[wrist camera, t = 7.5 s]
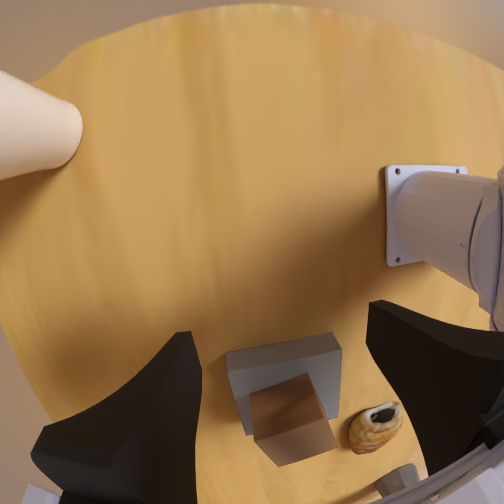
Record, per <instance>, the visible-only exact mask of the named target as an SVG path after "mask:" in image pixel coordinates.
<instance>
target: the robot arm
mask: <svg viewBox="0 0 504 504" xmlns="http://www.w3.org/2000/svg"><path fill="white" fill-rule="evenodd" d="M396 169H397V170H398V173H397V174H396V173H395V170H396ZM456 171H457V173H456ZM497 175H498V179H494V178H488V177H481V176H474V175H467V169H466V167H464V166H446V165H388V166H387V167H386V168H385V181H386V205H387V250H386V263H387V265H389V266H391V267H394V266H399V265H404V264H409V263H414V262H419V261H425V262H426V263H428V264H430V265H432V266H433V267H435V268H437V269H438V270H440V271H442V272H444V273H445V274H447V275H449V276H450V277H452V278H454V279H455V280H457V281H459V282H460V283H462V284H463V285H465V286H467V287H468V288H470V289H471V290H473V291H475V292H476V293H478V296H479V307H481V308H482V309H484V310H485V311H486V312H488V313H489V314H491V315H490V320H489V329H490V331H485V330H477V329H471V328H465V327H461V326H457V325H452V324H449V323H445V322H442V321H439V320H436V319H433V318H430V317H427V316H425V315H422V314H419V313H417V312H414V311H412V310H409V309H407V308H404V307H402V306H399V305H397V304H394V303H391V302H388V301H385V300H378V301H374V302H369V312H368V323H367V334H366V345H367V347H368V349H369V351H370V353H371V355H372V357H373V359H374V361H375V363H376V364H377V366H378V367H379V369H380V370H381V372H382V373H383V375H384V376H385V378H386V379H387V381H388V382H389V384H390V385H391V387H392V388H393V390H394V391H395V393H396V394H397V396H398V397H399V399H400V401H401V402H402V404H403V406H404V408H405V410H406V412H407V414H408V417H409V419H410V421H411V423H412V426H413V428H414V431H415V433H416V436H417V438H418V441H419V444H420V447H421V450H422V453H423V456H424V460H425V464H426V467H427V471H428V476H429V477H428V478H426V479H424V480H422V481H420V482H418V483H416V484H414V485H412V486H409V487H407V488H405V489H403V490H401V491H398V492H396V493H394V494H391V495H389V496H386V497H384V498H381V499H379V500H376V501H373V502H370V503H368V504H421V503H423V502H425V501H427V500H429V499H430V498H432V497H434V496H436V495H438V494H439V493H440V495H439V496H438V498H436V499H435V500H433V501H431V502H429V503H427V504H504V166H503V167H502V169H500V170H499V171H498V173H497ZM397 257H398V260H397V261H396V258H397ZM201 396H202V368H201V365H200V361H199V358H198V355H197V351H196V347H195V344H194V340H193V337H192V333H191V331H187V332H176V333H175V334H174V335H173V336H172V337H171V339H170V340H169V341H168V342H167V343H166V344H165V345H164V346H163V348H162V349H161V350H160V351H159V352H158V353H157V354H156V355H155V356H154V358H153V359H152V360H151V361H150V362H149V363H148V364H147V365H146V366H145V367H144V368H143V369H142V370H141V371H140V372H139V373H138V374H137V375H135V376H134V377H133V378H132V379H131V380H130V381H129V382H127V383H126V384H125V385H124V386H122V387H121V388H120V389H119V390H117V391H116V392H114V393H113V394H112V395H110V396H108V397H107V398H105V399H104V400H102V401H101V402H99V403H97V404H96V405H94V406H92V407H90V408H89V409H87V410H85V411H83V412H81V413H78V414H76V415H74V416H72V417H70V418H67V419H64V420H62V421H59V422H56V423H53V424H50V425H47V426H44V428H43V430H42V432H41V433H40V436H39V437H38V439H37V441H36V443H35V445H34V447H33V449H32V451H31V458H32V461H33V462H34V463H35V465H36V466H37V467H38V468H39V469H40V470H41V471H42V472H43V473H44V474H45V475H46V476H47V477H48V478H49V479H51V480H52V481H53V482H54V483H55V484H56V485H57V486H59V487H60V488H61V489H62V490H63V493H62V496H59V495H57V494H56V493H54V492H52V491H49V490H47V489H44V488H42V487H40V486H37V485H35V484H33V483H29V484H28V487H27V489H26V492H25V494H24V497H23V500H22V502H21V504H197V491H196V472H195V442H196V432H197V424H198V417H199V410H200V403H201ZM441 492H442V493H441Z"/></svg>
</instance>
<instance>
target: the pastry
mask: <svg viewBox="0 0 504 504" xmlns="http://www.w3.org/2000/svg"><path fill="white" fill-rule="evenodd" d="M402 409H403V405H402V404H401V403H398V402H395V401H394V402H387V403H384V404H382V405H379V406H377V407H375V408H371V409H368V410H365V411H364V412H362V413H361V414H359V415H358V416H357V417H355V419H354V420H353V421H352V422H351V426H350V428H349V441H350V446H351V448H352V451H353V452H354V453H356V454H358V455H360V454H366V453H372V452H375V451H376V450H378V449H379V448H380V447H382V446H383V445H385V444H386V443H387V442H388V441H390V440H391V439H392V438H393V437H395V436H396V435H397V430H398V429H399V428H401V426H402V423H403V418H402Z"/></svg>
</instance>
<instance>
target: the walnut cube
mask: <svg viewBox="0 0 504 504" xmlns="http://www.w3.org/2000/svg"><path fill="white" fill-rule="evenodd" d="M249 396H250V406H251V416H252V426H253V435H254V442H255V443H256V444H257V445H258V446H259V447H260V448H261V449H262V450H263V452H264V453H265V454H266V455H267V456H268V457H269V458H270V459H271V460H272V461H273V462H274V463H275V464H276V465H277V466H278V467H281V466H284V465H288V464H291V463H294V462H298V461H301V460H304V459H307V458H310V457H313V456H316V455H318V454H321V453H324V452H327V451H329V450H332V449H334V448H337V447H338V446H337V444H336V441H335V438H334V435H333V433H332V430H331V427H330V425H329V422H328V419H327V416H326V414H325V411H324V408H323V406H322V403H321V401H320V399H319V397H318V394H317V392H316V390H315V388H314V386H313V383H312V381H311V379H310V377H309V375H308V372H307V373H304V374H302V375H299V376H297V377H294V378H292V379H289V380H287V381H284V382H281V383H279V384H276V385H273V386H270V387H268V388H265V389H262V390H259V391H256V392H253V393H250V394H249Z"/></svg>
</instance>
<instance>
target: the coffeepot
mask: <svg viewBox="0 0 504 504" xmlns="http://www.w3.org/2000/svg"><path fill="white" fill-rule="evenodd" d="M418 482H420V479H419V476H418V472H417V469H416V466H415V465H414V464H407V465H404V466H402V467H399V468H397V469H395V470H393V471H391V472H390V473H388V474H386V475H385V476H383V477H382V478H381V479H379V480H378V481H377V483H376V485H375V487H376V489H377V490H378V492H379V493H380V495H381V496H382V497H383V498H384V497H386V496H389V495H391V494H394V493H396V492H398V491H401V490H403V489H405V488H407V487H409V486H412V485H414V484H416V483H418ZM429 502H431V500H430V499H429V500H427V501H425V502H423V503H421V504H427V503H429Z"/></svg>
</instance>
